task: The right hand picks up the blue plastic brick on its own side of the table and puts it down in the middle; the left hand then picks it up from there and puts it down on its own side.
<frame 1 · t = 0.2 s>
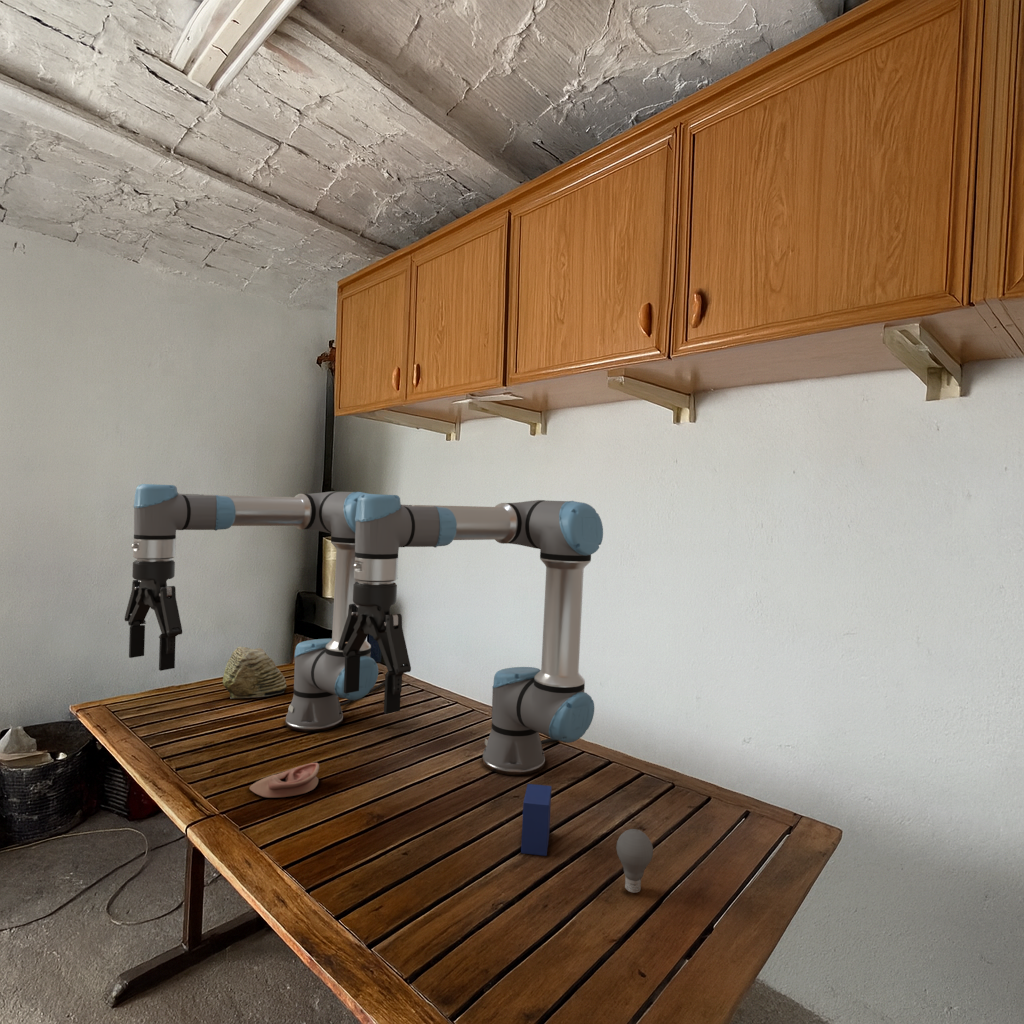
left hand: (151, 662, 130), 28 cm above the table, tool pointing down, fingers open, 13 cm apart
right hand: (370, 701, 112), 28 cm above the table, tool pointing down, fingers open, 13 cm apart
light bulb: (632, 891, 106), on the table
anatomical model: (284, 787, 137), on the table
brick: (535, 843, 119), on the table
fossil: (254, 694, 198), on the table
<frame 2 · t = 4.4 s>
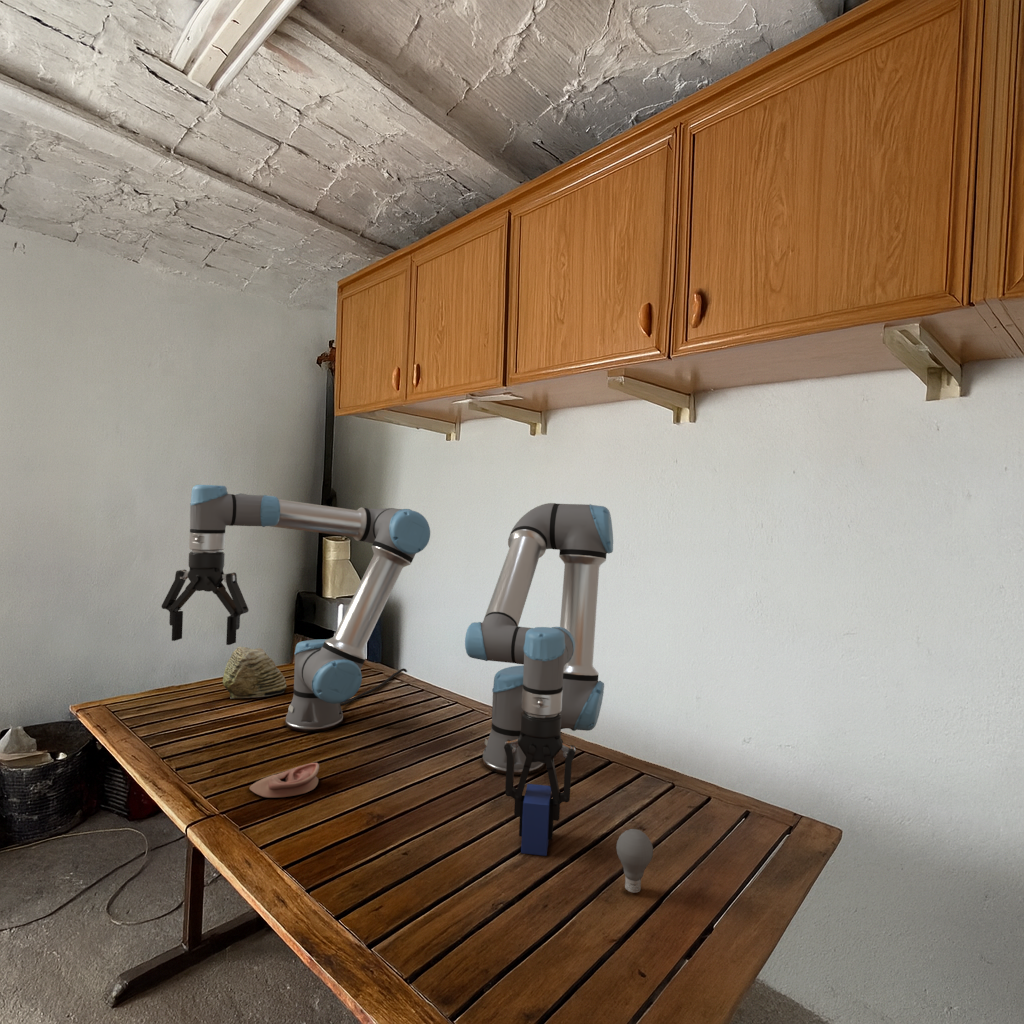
left hand: (203, 641, 148), 28 cm above the table, tool pointing down, fingers open, 13 cm apart
right hand: (536, 834, 119), 2 cm above the table, tool pointing down, fingers closed on brick, 5 cm apart
brick: (535, 843, 119), on the table, touching right hand
everything else where it was.
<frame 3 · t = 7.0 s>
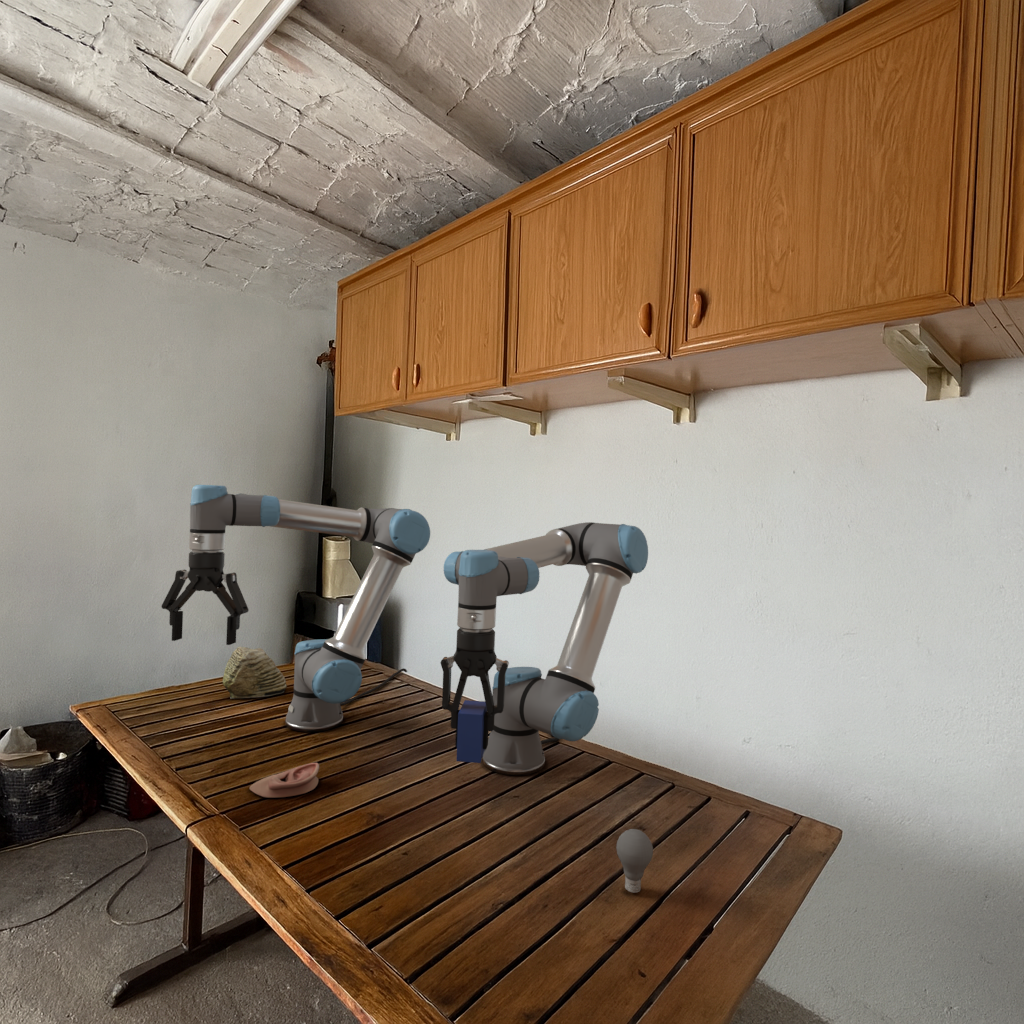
left hand: (203, 641, 148), 28 cm above the table, tool pointing down, fingers open, 13 cm apart
right hand: (471, 745, 125), 16 cm above the table, tool pointing down, fingers closed on brick, 5 cm apart
brick: (471, 754, 125), point 14 cm above the table, touching right hand
everything else where it was.
when the right hand's fingers open (3 cm above the table, at t = 10.0 s): brick drops 1 cm, on the table.
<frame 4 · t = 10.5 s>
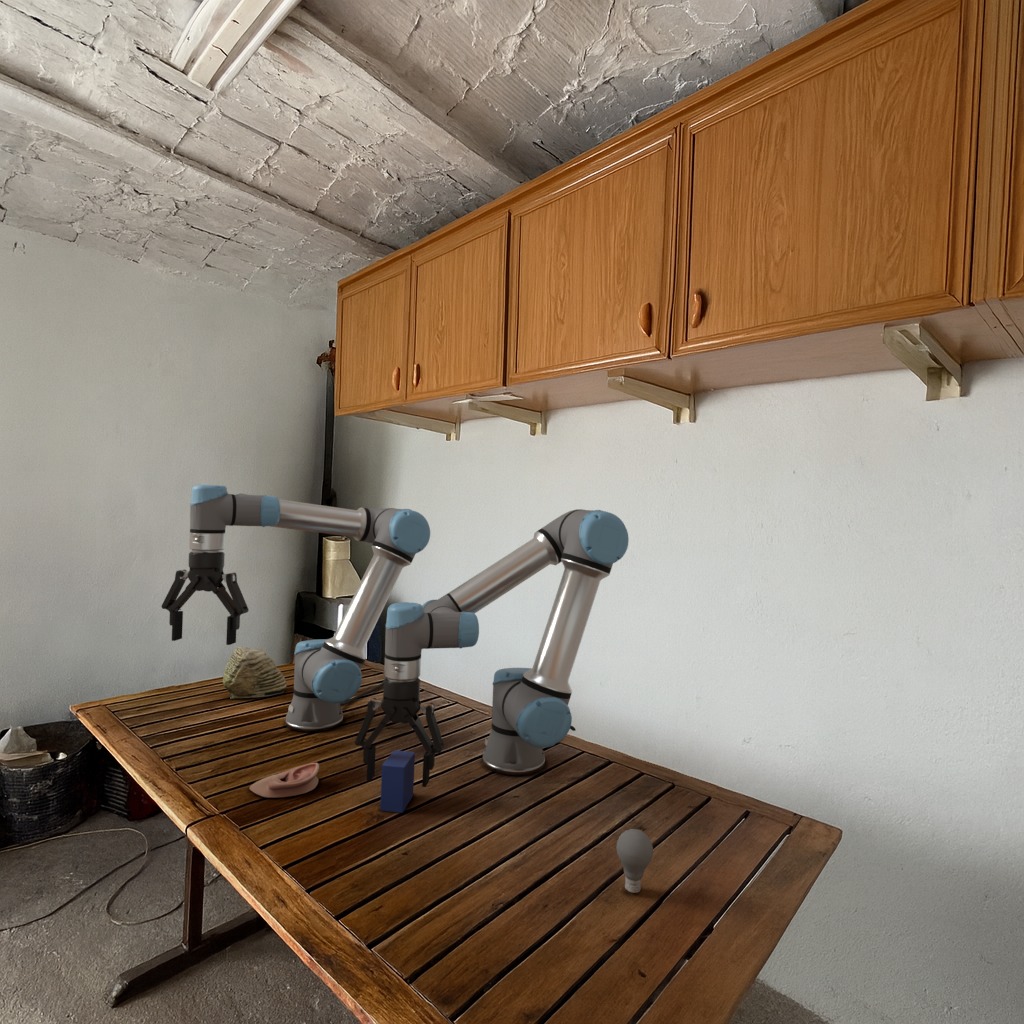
left hand: (203, 641, 148), 28 cm above the table, tool pointing down, fingers open, 13 cm apart
right hand: (397, 781, 133), 4 cm above the table, tool pointing down, fingers open, 11 cm apart
brick: (397, 802, 133), on the table
everything else where it was.
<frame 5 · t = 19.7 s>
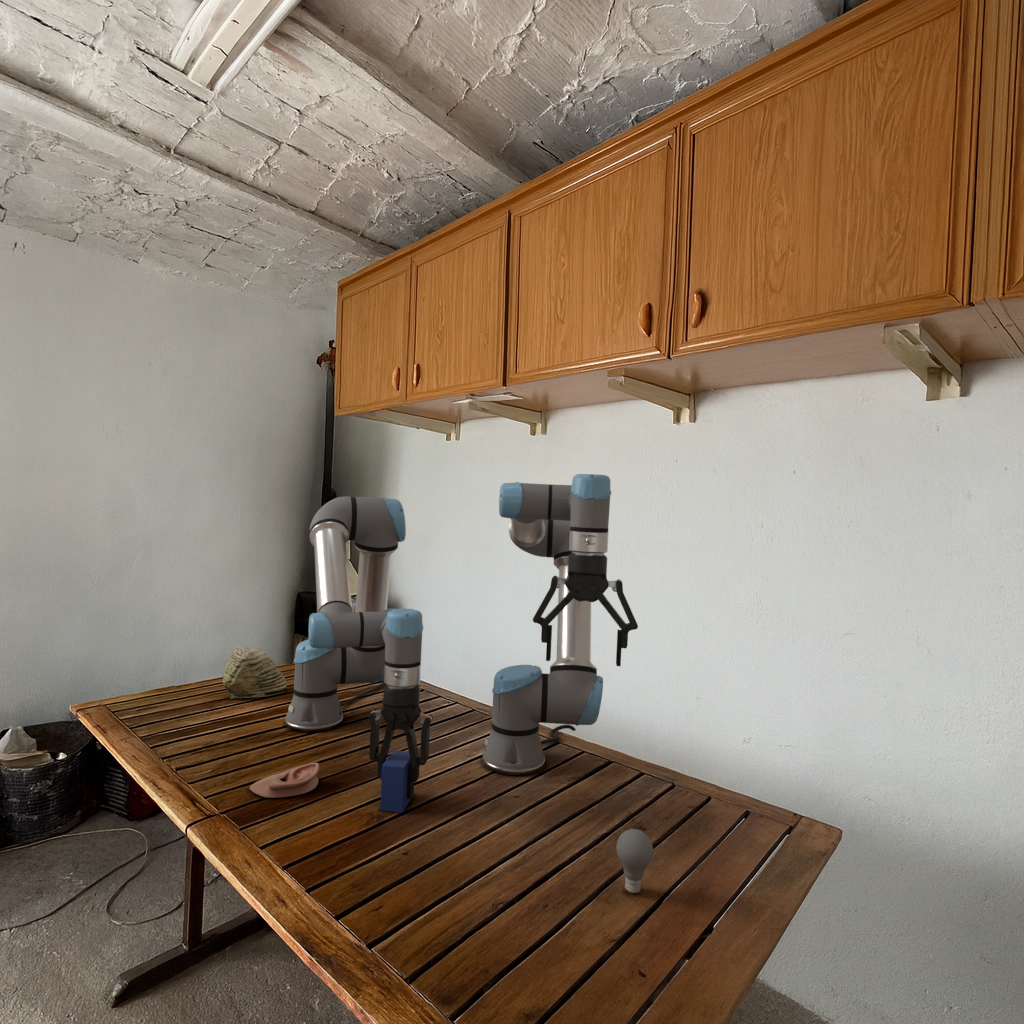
left hand: (397, 794, 133), 2 cm above the table, tool pointing down, fingers closed on brick, 5 cm apart
right hand: (583, 662, 124), 33 cm above the table, tool pointing down, fingers open, 13 cm apart
brick: (397, 802, 133), on the table, touching left hand
everything else where it was.
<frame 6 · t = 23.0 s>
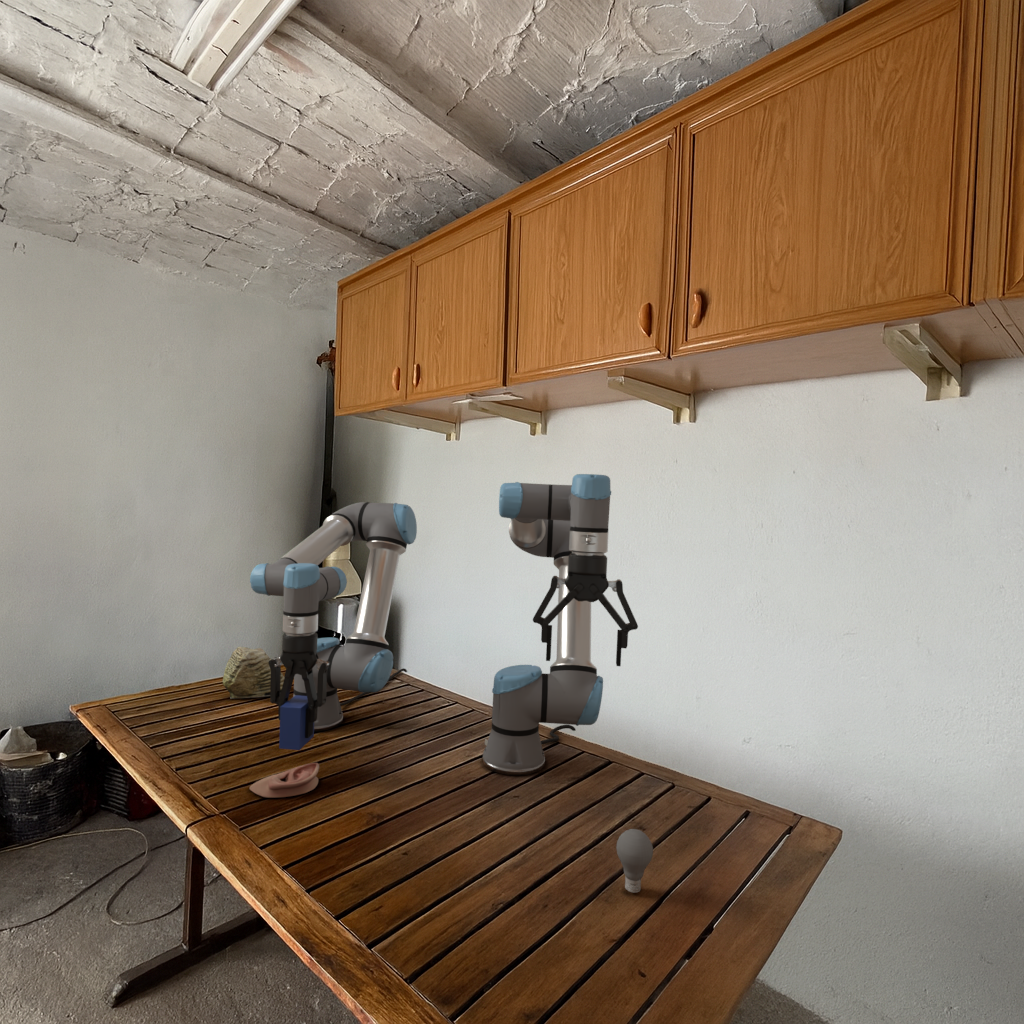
left hand: (297, 734, 143), 9 cm above the table, tool pointing down, fingers closed on brick, 5 cm apart
right hand: (583, 662, 124), 33 cm above the table, tool pointing down, fingers open, 13 cm apart
brick: (297, 742, 143), point 8 cm above the table, touching left hand
everything else where it was.
when the left hand's fingers open (3 cm above the table, at t = 26.6 s): brick drops 1 cm, on the table.
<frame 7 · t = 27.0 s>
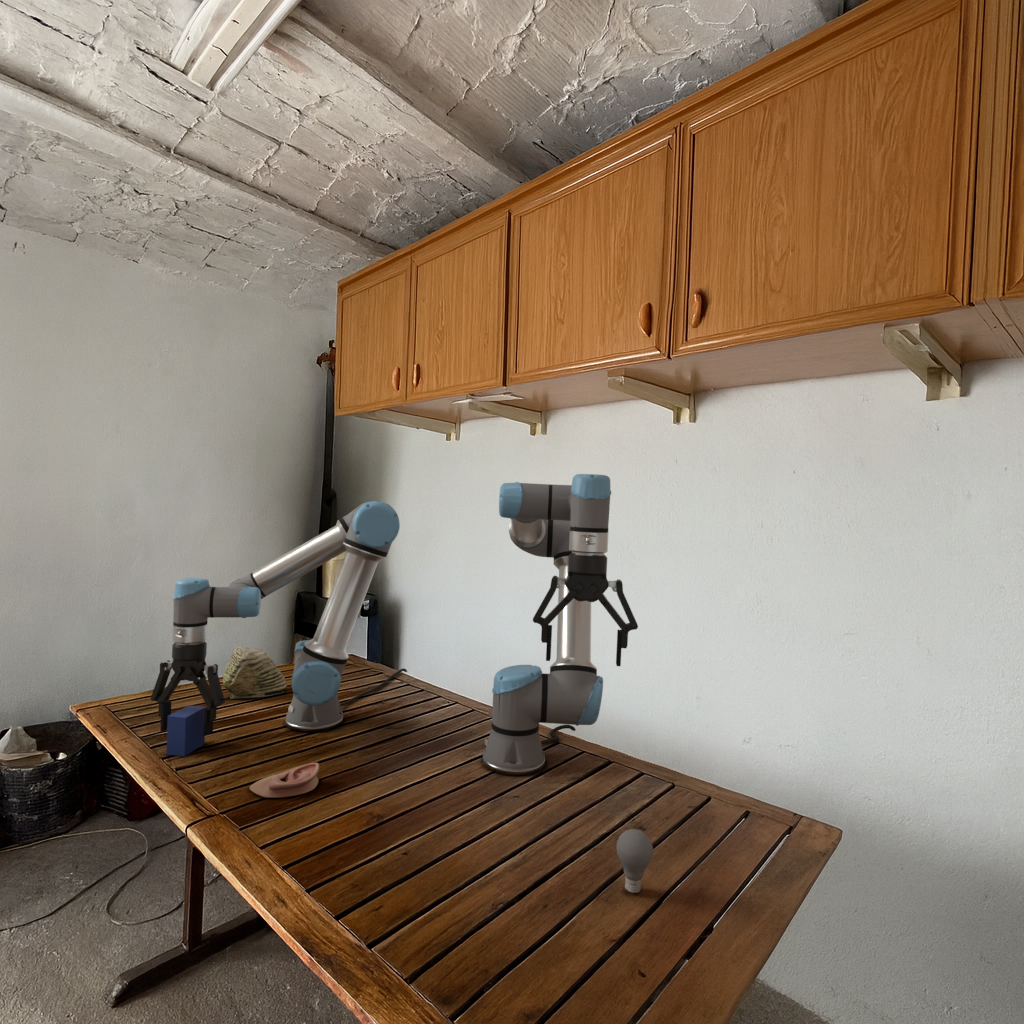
left hand: (186, 731, 155), 4 cm above the table, tool pointing down, fingers open, 10 cm apart
right hand: (583, 662, 124), 33 cm above the table, tool pointing down, fingers open, 13 cm apart
brick: (185, 749, 155), on the table
everything else where it was.
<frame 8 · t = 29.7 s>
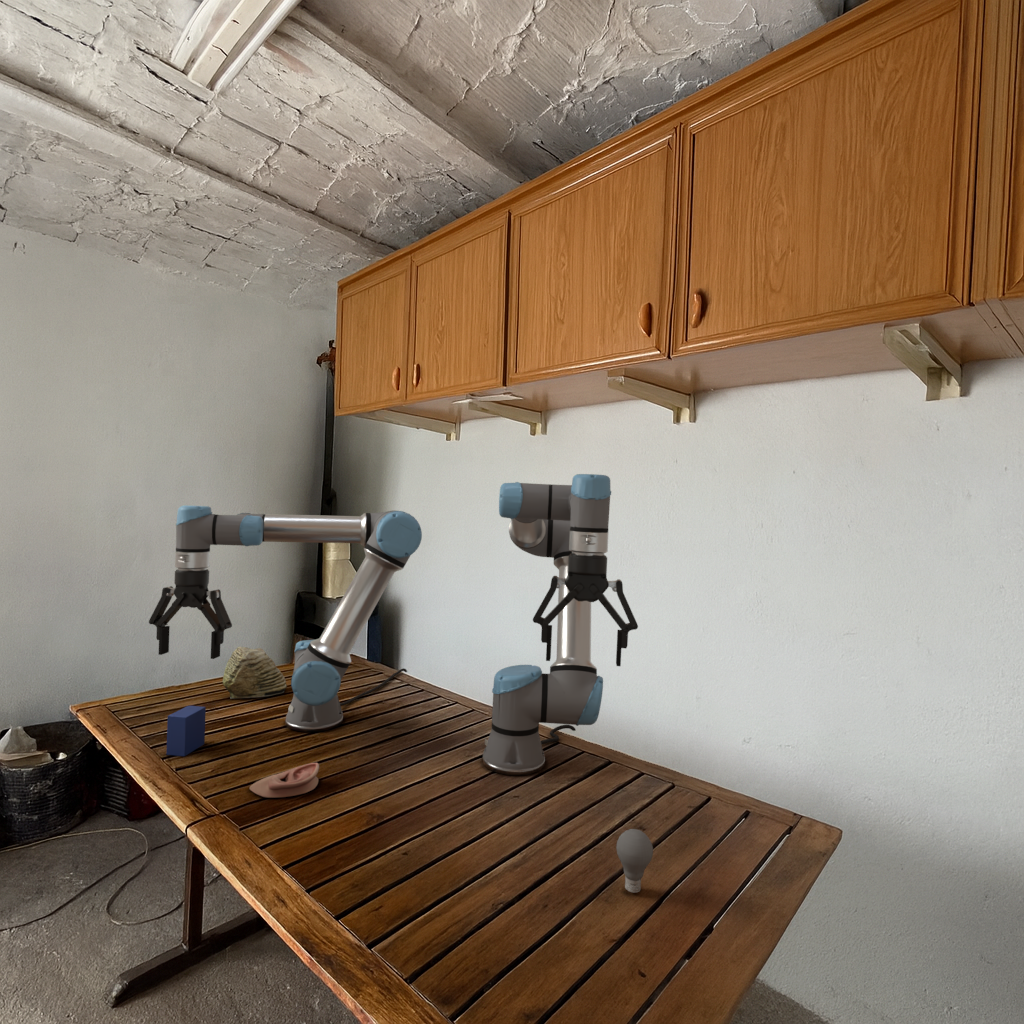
left hand: (189, 655, 155), 23 cm above the table, tool pointing down, fingers open, 13 cm apart
right hand: (583, 662, 124), 33 cm above the table, tool pointing down, fingers open, 13 cm apart
nothing on the table moved.
at the end: brick inside the target area (0.1 cm from its centre), on the table; brick tilted 0°; the two hands never held the brick at the same time; the left hand is holding nothing; the right hand is holding nothing; brick at rest at the end (0.0 cm/s) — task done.
